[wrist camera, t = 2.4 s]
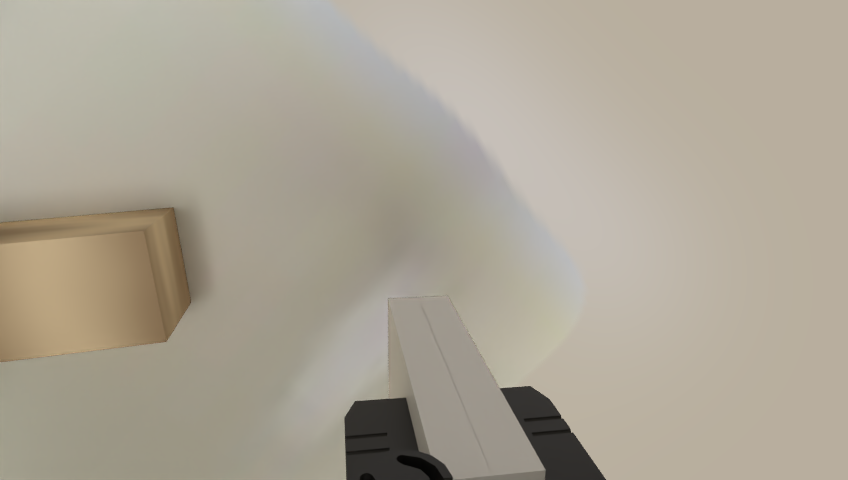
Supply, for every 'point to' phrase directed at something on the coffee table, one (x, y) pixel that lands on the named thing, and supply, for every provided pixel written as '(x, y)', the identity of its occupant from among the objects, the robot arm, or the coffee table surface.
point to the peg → (90, 283)
